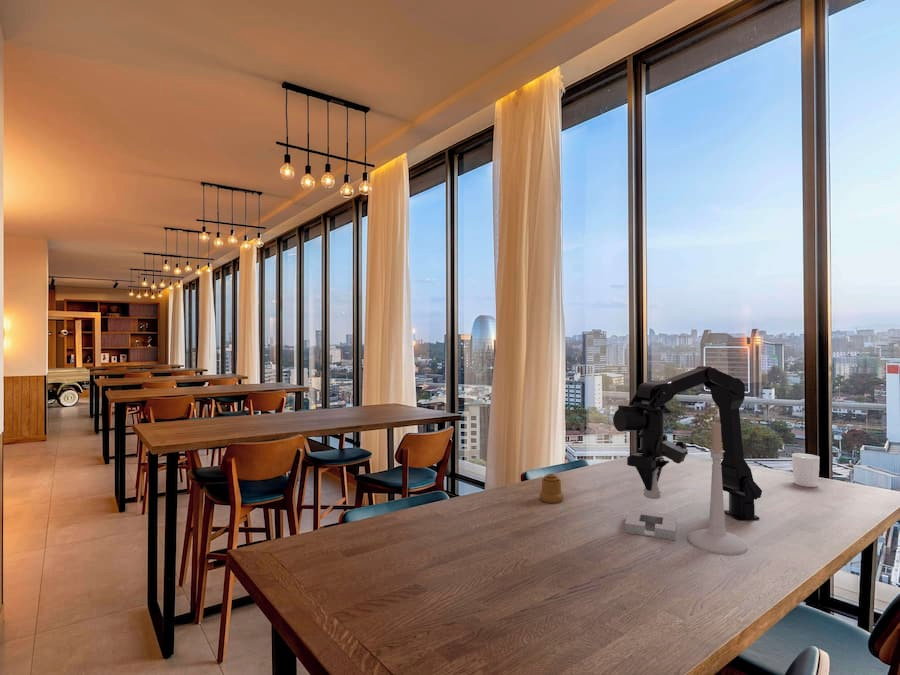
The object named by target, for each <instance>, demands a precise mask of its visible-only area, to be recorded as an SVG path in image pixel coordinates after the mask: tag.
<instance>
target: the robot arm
mask: <svg viewBox="0 0 900 675" xmlns="http://www.w3.org/2000/svg"><path fill="white" fill-rule="evenodd" d="M701 385H703V386H704V387H705V388H706V389H709V390H710V395H711V398H712V400H713V401H714V403H715V405H716V406H717V408H718V412H719V423H720V424H721V446H722V450H724V451H725V452H724V453H723V454H722V456H723V458H722V459H721V462H720V464H721V466H722V467H721V471H722V486H723V492H727V493H728V510H727V509H724V514H727V515H728V516H730V517H732V518H734V519H735V520H738V521H739V520H740V521H742V520H744V521H745V520H748V521H749V520H760V517H759V516H758V515H755V512H756V510H755V506H756V505H755V500H758V499H761V497H762V493H763V490H762V488H761V487H760V486H759V485H758V484H757V483H756V482H755V480H754V477H753V473H752V468H751V467H750V465H748V463H747V462H746V460H745V458H744V456H745V455H744V447H743V437H742V427H741V426H742V425H741V415H740V414H741V413H740V408H741V406H742V404H743V403H744V400H745V393H746V392H745V391H746V388H745V383H744V381H742V380H741V379H740V378H738V377H733V376H731V375H729V374H728V373H725V372H722V371H721V370H718V369H717V368H715V367H713V366H709V365H700V366H697V367H695V368H694V369H693V368H692V369H691V370H689V371H686V372H683V373H681V374H678V375H675V376H673V377H671V378H667V379H663V380H652V381H647V382H642V383H640V384H639V385H638V389H637V391H636V392H635V394H634V395H633V396H632V399H631V400H630V402H629V403H628V405H623V404H621V405H620V404H619V405H618V406H617V410H615V412H614V414H613V416H612V421H613V422H612V423H613V426H614V427H615V430H616V431H617V432H639V433H637V438H639V439H640V442H639V443H640V447H639V448H637V452H634V453H631V454H630V455H628V456H627V457H626V465H627V466H629V467H635V469H636V470H637V473H638V474H639V476H640V478H641V480H642V483H643V485H644V488H645V487H646V489H647V490H649V491H651V489H652V483H653V477H654V472H655V471H656V470H657V469H658V470H659V472H658V473H657V476H658V477H657V484H659V483H658V482H659V479H660V477H661V474H662V470H663V468H664V467H665V466H666V465H668V464H669V463H670V461H669V460H671V461H672V462H673V463H676V464H681V463H682V462H683V463H684V461H685V458H686V456H687V455H688V454H689V452H688V450H689V449H688V448H687V443H686V442H685V441H682V440H679V441H677V442H672V441H669V440H668V436H667V434H666V433H665V432H664V429H665V427H664V426H665V425H664V424H665V414H671V412H672V411H671V410H670V409H669V408H668V407H667V406H666V404H667V403H669V402H671V401H672V400H673V398H674V397H675V396H676V395H677V394H679V393H683V392H685V391H688V390H690V389H692V388H695V387H698V386H701ZM665 458H667V459H669V460H665Z"/></svg>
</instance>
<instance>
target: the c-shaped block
mask: <svg viewBox="0 0 900 675" xmlns="http://www.w3.org/2000/svg"><path fill="white" fill-rule="evenodd" d="M677 522H678V521H677V515H675V514H669V513H668V514H667V513H659V512H653V511H646V510H639V509H631V508H630V509H629V510H628V513H627V516H626V519H625V522H624V533H627V534H632V535H637V536H638V535H639V536H644V535H645V537H650V536H651V538H656V537H657V539H662V540H668V541H676V540H677V526H678V524H677Z"/></svg>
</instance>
